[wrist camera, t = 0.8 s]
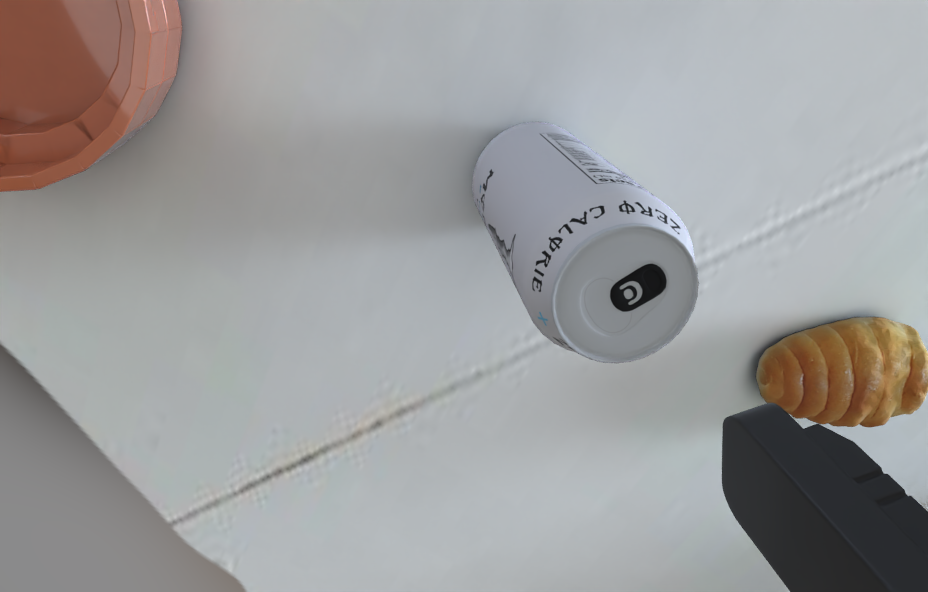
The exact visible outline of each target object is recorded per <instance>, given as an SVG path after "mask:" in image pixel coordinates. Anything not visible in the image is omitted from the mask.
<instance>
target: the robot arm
mask: <svg viewBox="0 0 928 592" xmlns="http://www.w3.org/2000/svg"><path fill="white" fill-rule="evenodd" d="M722 486H723V491H724V494H725V498H726V500H727V503H728V505H729V507H730V509H731V511H732V513H733V515H734V516H735V518H736V520H737V521H738V522H739V524H740V525H741V527H742V528H743V529H744V531H745V532H746V533H747V535H748V536H749V537H750V539H751V540H752V541H753V542H754V544H755V545H756V546H757V548H758V549H759V550H760V552H761V553H762V554H763V556H764V557H765V558H766V560H767V561H768V562H769V564H770V565H771V566H772V568H773V569H774V570H775V572H776V573H777V574H778V576H779V577H780V578H781V580H782V581H783V582H784V584H785V585H786V586H787V588H788V589H789V590H790V592H928V512H927V511H926V510H925V509H924V508H923V507H922V506H921V505H920V504H919V503H918V502H917V501H916V500H915V499H914V498H913V497H911V496H907V495H906V493H905V490H904V489H903V488H902V487H901V486H900V485H899V484H898V483H897V482H896V481H895V480H893V479H892V478H891V477H890V476H889V475H888V474H884V473H883V472H882V468H881V467H880V466H879V465H878V464H877V463H875V462H874V461H873V460H872V459H871V458H870V457H869V456H868V455H867V454H866V453H865V452H864V451H863V450H862V449H861V448H860V447H858V446H857V445H856V444H855V443H854V442H853V441H851V440H849V439H847V438H845V437H843V436H841V435H839V434H837V433H835V432H833V431H831V430H829V429H827V428H825V427H823V426H821V425H819V424H816V425H813V426H810V427H807V428H804V429H803V428H802V427H801V426H800V425H799V424H798V423H797V422H796V421H795V420H794V419H793V418H792V417H791V416H790V415H789V414H788V413H787V412H786V411H785V410H784V409H783V408H782V407H780V406H779V405H777V404H775V403H767V404H764V405H761V406H758V407H755V408H752V409H749V410H746V411H743V412H740V413H738V414H735V415H732V416H729V417H727V418H725V420H724V422H723V441H722Z"/></svg>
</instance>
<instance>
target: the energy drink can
mask: <svg viewBox="0 0 928 592" xmlns="http://www.w3.org/2000/svg"><path fill="white" fill-rule="evenodd" d="M472 189H473V197H474V201H475V205H476V207H477V209H478V211H479V213H480V215H481V217H482V219H483V221H484V223H485V225H486V227H487V229H488V231H489V233H490V236H491V238H492V240H493V242H494V244H495V246H496V248H497V250H498V252H499V254H500V256H501V258H502V260H503V262H504V264H505V266H506V268H507V270H508V272H509V274H510V276H511V278H512V281H513V283H514V285H515V287H516V289H517V291H518V293H519V295H520V297H521V299H522V301H523V303H524V305H525V307H526V309H527V311H528V313H529V315H530V317H531V319H532V321H533V323H534V324H535V325H536V327H537V328H538V329H539V330H540V331H541V333H542V334H543V335H544V336H546V337H547V338H548V339H549V340H551V341H552V342H553V343H555V344H557V345H559V346H561V347H563V348H565V349H567V350H570V351H574V352H577V353H578V354H580V355H582V356H584V357H586V358H589V359H591V360H595V361H599V362H603V363H624V362H631V361H634V360H638V359H641V358H644V357H646V356H649V355H651V354H653V353H655V352H657V351H658V350H660V349H661V348H663V347H664V346H665V345H667V344H668V343H669V342H670V341H671V340H673V339H674V338H675V337H676V336H677V335H678V334H679V333H680V331H681V330H682V328H683V327H684V326H685V324H686V323H687V322H688V320H689V318H690V316H691V314H692V312H693V310H694V307H695V303H696V300H697V296H698V285H699V281H698V273H697V268H696V265H695V259H694V251H693V244H692V241H691V238H690V235H689V233H688V230H687V228H686V227H685V225H684V224H683V222H682V220H681V219H680V217H679V216H678V215H677V214H676V213H675V212H674V211H673V210H672V209H671V208H670V207H669V206H667V205H666V204H665V203H663V202H662V201H661V200H659V199H658V198H657V197H655V196H654V195H653V194H651V193H650V192H649V191H647V190H646V189H645V188H643V187H642V186H641V185H639V184H638V183H636V182H635V181H634V180H632V179H631V178H630V177H628V176H627V175H626V174H624V173H623V172H622V171H620V170H619V169H618V168H616V167H615V166H614V165H612V164H611V163H610V162H608V161H607V160H606V159H604V158H603V157H602V156H600V155H599V154H597V153H596V152H595V151H593V150H592V149H591V148H589V147H588V146H587V145H585V144H584V143H583V142H581V141H580V140H579V139H577V138H576V137H575V136H573V135H572V134H571V133H569V132H567V131H566V130H564V129H563V128H561V127H559V126H556V125H553V124H550V123H544V122H527V123H522V124H519V125H515V126H512V127H510V128H508V129H507V130H505V131H503V132H501V133H500V134H499V135H497V136H496V137H495V138H494V139H492V140H491V142H490V143H489V144H488V145H487V146H486V147H485V148H484V150H483V152H482V153H481V155H480V157H479V158H478V161H477V163H476V166H475V169H474V174H473V180H472Z"/></svg>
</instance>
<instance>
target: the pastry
mask: <svg viewBox="0 0 928 592" xmlns="http://www.w3.org/2000/svg"><path fill="white" fill-rule="evenodd" d="M756 380H757V383H758V386H759V390H760V394H761V396H762V397H763V399H764V400H765V401H766V402H767V403H775V404H777V405H779V406H780V407H782V408H783V409H784V410H785V411H786V412H787V413H789V414H790V415H792V416H793V417H795V418H807V419H809V420H810V421H813V422H816V423H819V424H826V423H829V424H830V425H832V426H848V427H854V426H857V425H858V424H860V425H862V426H864V427H875V426H880V425H884V424H885V423H886V422H887V421H888V420H889V418H890V417H894V416H898V415H902V414H912V413H913V412H914V411H915V410H917V409H918V408H919V407H920V406H921V404H922V403H923V401H924V400H925V397H926V394H927V392H928V353H927V350H926V348H925V346H924V344H923V342H922V340H921V338H920V336H919V334H918V332H917V331H916V330H915V329H914V328H912V327H911V326H908V325H905V324H902V323H899V322H895V321H891V320H888V319H886V318H879V317H854V318H850V319H846V320H842V321H836V322H834V323H829V324H824V325H818V327H816V328H812V329H806V330H804V331H800V332H797V333H794V334H792V335H790V336H787V337H785V338H783V339H782V340H781V341H779V342H778V343H776V344H775V345H773V346H771V347H769V348H768V349H766V350H765V352H764V353H763V355H762V356H761V358H760V360H759V364H758V369H757V373H756Z"/></svg>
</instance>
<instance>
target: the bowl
mask: <svg viewBox="0 0 928 592" xmlns="http://www.w3.org/2000/svg"><path fill="white" fill-rule="evenodd" d="M181 26H182V22H181V17H180V11H179V6H178V1H177V0H0V192H7V191H22V190H36V189H40V188H43V187H45V186H48V185H50V184H53V183H55V182H58V181H60V180H63V179H65V178H68V177H70V176H73V175H75V174H78V173H80V172H83V171H85V170H86V169H88V168H89V167H91V166H92V165H94V164H95V163H97V162H98V161H100V160H101V159H103V158H104V157H106V156H107V155H109V154H110V153H112V152H113V151H115V150H116V149H118V148H119V147H121V146H122V145H124V144H125V143H126V142H127V141H128V140H129V139H130V138H132V137H133V136H134V135H135V134H136V133H137V132H138V131H139V130H140V129H141V128H143V127H144V126H145V125H146V124H147V123H148V122H149V121H150V120H151V119H152V118H154V117H155V115H156V114H157V112H158V110H159V108H160V106H161V104H162V102H163V100H164V98H165V96H166V94H167V92H168V90H169V88H170V86H171V84H172V82H173V80H174V78H175V75H176V73H177V66H178V58H179V49H180V41H181V33H182V27H181Z"/></svg>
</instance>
